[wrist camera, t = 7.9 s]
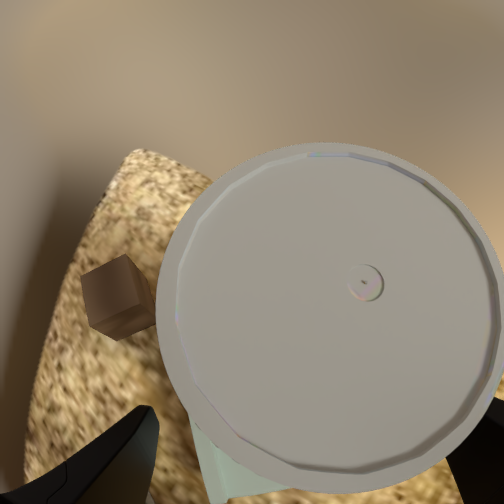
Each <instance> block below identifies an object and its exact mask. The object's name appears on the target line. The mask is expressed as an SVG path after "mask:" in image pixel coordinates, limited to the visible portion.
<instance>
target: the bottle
mask: <svg viewBox="0 0 504 504" xmlns="http://www.w3.org/2000/svg"><path fill="white" fill-rule="evenodd" d="M156 327H157V335H158V341H159V346H160V351H161V355H162V358H163V362H164V365H165V368H166V371H167V374H168V376H169V379H170V381H171V384H172V386H173V388H174V390H175V392H176V394H177V396H178V398H179V399H180V401H181V403H182V405H183V407H184V408H185V409H186V411H187V412H188V414H189V415H190V416H191V418H192V419H193V421H194V422H195V424H196V425H197V427H198V428H199V429H200V430H202V432H203V433H204V434H205V435H206V436H207V437H208V438H209V439H210V440H211V441H212V443H213V444H214V445H215V446H216V447H217V448H220V449H221V450H222V451H223V452H224V453H226V454H227V455H228V456H229V457H231V458H232V460H234V461H235V462H237V463H238V464H241V465H242V466H244V467H245V468H247V469H249V470H251V471H252V472H254V473H255V474H257V475H259V476H261V477H264V478H266V479H269V480H271V481H274V482H276V483H279V484H282V485H285V486H288V487H292V488H296V489H300V490H304V491H310V492H317V493H328V494H349V493H360V492H367V491H373V490H377V489H382V488H385V487H389V486H392V485H395V484H398V483H401V482H403V481H406V480H408V479H410V478H412V477H414V476H416V475H418V474H420V473H422V472H424V471H426V470H427V469H429V468H431V467H432V466H434V465H435V464H437V463H438V462H440V461H441V460H442V459H444V458H445V457H446V456H447V455H449V454H450V453H451V452H452V451H453V450H454V449H455V448H457V447H458V446H459V445H460V444H461V443H462V442H463V441H464V440H465V438H466V437H467V436H468V435H469V434H470V433H471V432H472V430H473V429H474V428H475V427H476V425H477V424H478V422H479V421H480V420H481V418H482V417H483V415H484V414H485V412H486V410H487V409H488V407H489V405H490V403H491V401H492V399H493V397H494V395H495V393H496V391H497V388H498V386H499V383H500V380H501V378H502V375H503V371H504V274H503V271H502V268H501V265H500V262H499V259H498V257H497V255H496V252H495V250H494V248H493V246H492V244H491V242H490V240H489V238H488V236H487V235H486V233H485V231H484V230H483V228H482V227H481V225H480V224H479V222H478V221H477V219H476V218H475V217H474V215H473V214H472V213H471V212H470V210H469V209H468V208H467V207H466V206H465V205H464V203H462V201H461V200H460V199H459V198H458V197H457V196H456V195H455V194H454V193H453V192H452V191H450V190H449V189H448V188H447V187H446V186H445V185H443V184H442V183H441V182H440V181H438V180H437V179H435V178H434V177H433V176H431V175H430V174H428V173H427V172H425V171H423V170H422V169H420V168H419V167H417V166H415V165H413V164H411V163H409V162H407V161H405V160H403V159H401V158H398V157H396V156H394V155H391V154H388V153H385V152H382V151H379V150H375V149H372V148H368V147H363V146H358V145H352V144H343V143H306V144H299V145H292V146H287V147H283V148H279V149H276V150H272V151H269V152H266V153H263V154H261V155H258V156H256V157H254V158H251V159H250V160H247V161H245V162H243V163H242V164H240V165H238V166H236V167H234V168H233V169H231V170H230V171H228V172H227V173H225V174H224V175H222V176H221V177H220V178H218V179H217V180H216V181H215V182H213V183H212V184H211V185H210V186H209V187H208V188H207V189H206V190H205V191H204V192H203V193H202V194H201V195H200V196H199V197H198V198H197V199H196V200H195V201H194V203H193V204H192V205H191V206H190V208H189V209H188V210H187V212H186V213H185V215H184V216H183V218H182V219H181V221H180V222H179V224H178V226H177V228H176V229H175V231H174V233H173V235H172V237H171V239H170V242H169V244H168V247H167V249H166V252H165V255H164V258H163V261H162V265H161V268H160V273H159V278H158V284H157V291H156Z"/></svg>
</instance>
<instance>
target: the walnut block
mask: <svg viewBox="0 0 504 504" xmlns="http://www.w3.org/2000/svg"><path fill="white" fill-rule="evenodd" d="M80 277H81V284H82V290H83V296H84V301H85V307H86V312H87V317H88V321H89V326H90V327H92V328H93V329H95V330H97V331H99V332H101V333H103V334H104V335H106V336H108V337H110V338H112V339H114V340H116V341H118V340H120V339H123V338H125V337H127V336H130V335H132V334H134V333H136V332H139V331H141V330H143V329H146V328H148V327H150V326H152V325H155V324H156V306H155V303H154V300H153V298H152V295H151V292H150V289H149V286H148V282H147V279H146V277H145V276H144V275H143V274H142V273H141V271H140V270H139V269H138V268H137V267H136V265H135V264H134V263H133V262H132V261H131V259H130V258H129V257H128V256H127V254H124V255H122V256H120V257H118V258H116V259H114V260H112V261H110V262H108V263H106V264H104V265H102V266H100V267H98V268H96V269H94V270H92V271H90V272H88V273H86V274H84V275H82V276H80Z"/></svg>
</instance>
